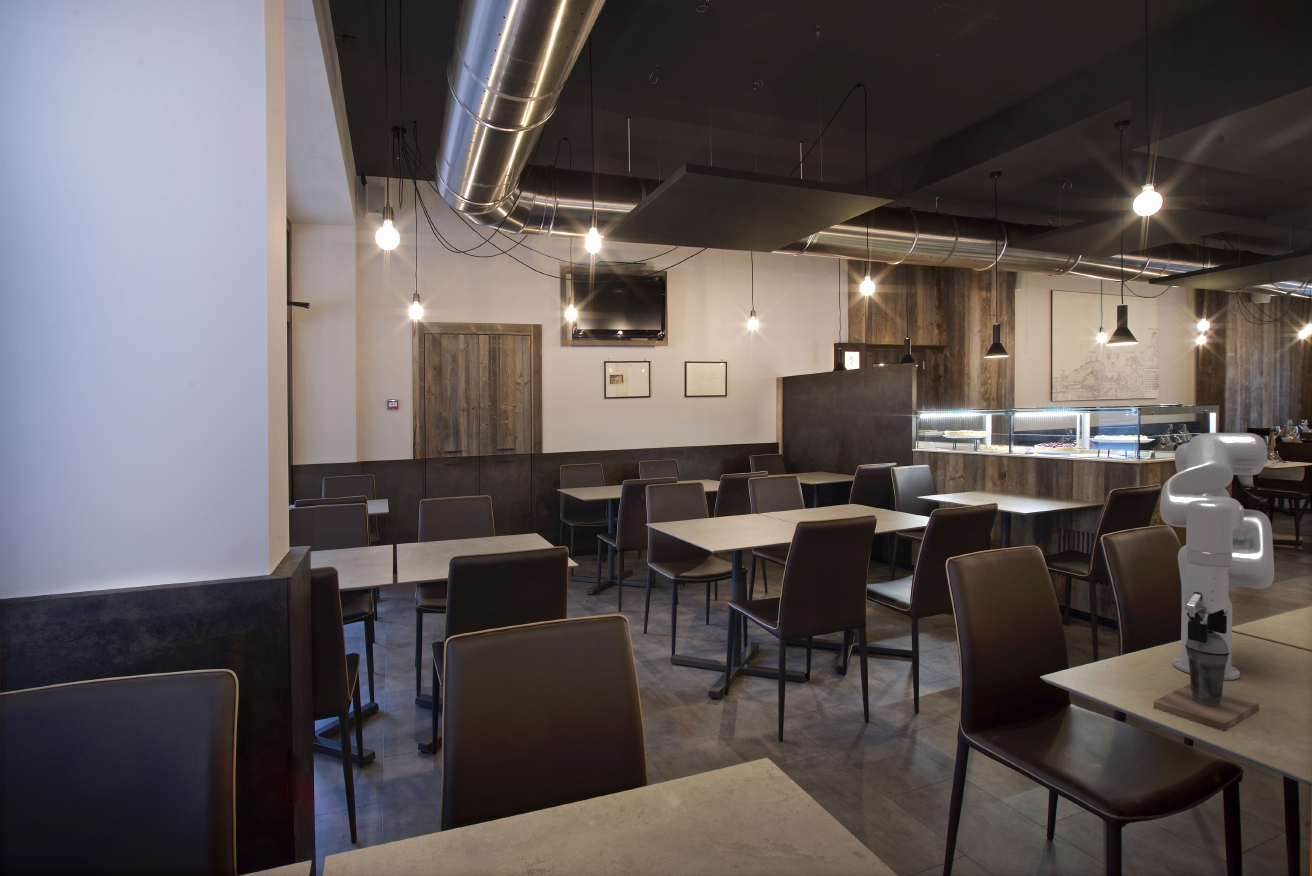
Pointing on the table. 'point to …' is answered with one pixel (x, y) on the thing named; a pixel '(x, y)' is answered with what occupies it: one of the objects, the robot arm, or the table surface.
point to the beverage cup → (1207, 668)
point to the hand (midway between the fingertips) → (1207, 636)
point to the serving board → (1207, 708)
